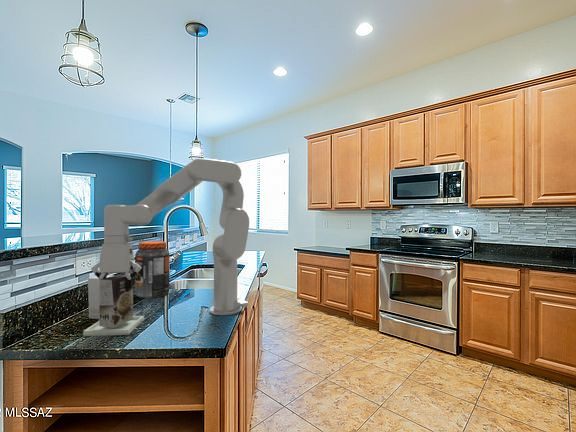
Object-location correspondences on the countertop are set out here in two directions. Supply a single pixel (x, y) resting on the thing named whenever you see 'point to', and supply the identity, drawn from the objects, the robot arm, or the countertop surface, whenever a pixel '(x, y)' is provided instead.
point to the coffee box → (115, 302)
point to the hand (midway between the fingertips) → (116, 290)
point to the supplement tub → (152, 269)
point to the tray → (119, 330)
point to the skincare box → (94, 296)
